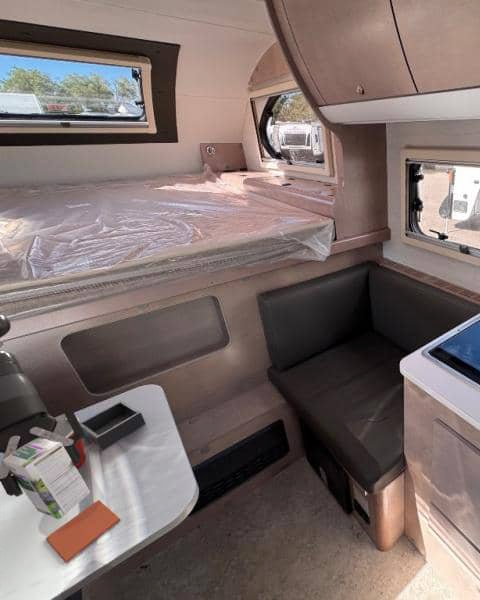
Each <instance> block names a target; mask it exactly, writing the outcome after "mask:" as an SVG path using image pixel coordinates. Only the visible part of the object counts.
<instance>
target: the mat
mask: <svg viewBox="0 0 480 600" xmlns="http://www.w3.org/2000/svg"><path fill="white" fill-rule="evenodd" d="M120 520H121V518H120V517H119V516H118V515H117V514H115V513H114V512H113V511H112V510H111V509H110V508H109V507H108V506H106V505H105V504H104V503H103V502H102V501H101V500H100V499H97V500H96V501H95V502H93V503H91V505H89V506H88V507H87V508H85V509H84V510H82V511H81V512H80V513H78V514H77V515H75V516H74V517H73V518H71V519H70V520H68V521H67V522H66V523H64V524H63V525H62V526H60V527H59V528H57V529H56V530H54V531H53V532H52V533H50V534H49V535H47V537H45V540H46V541H47V542H48V543H49V544H50V545H51V547H52V548H53V549H54V550H55V551H56V552H57V553H58V554H59V555H60V556H61V558H62V559H63V560H64V561H65V562H66V563H68V562H69V561H70V560H72V559H74V557H76V556H77V555H78V554H79V553H81V552H82V551H83V550H85V549H86V548H87V547H88V546H90V544H92V543H93V542H94V541H96V540H97V539H98V538H100V536H102V535H103V534H104V533H105V532H107V531H108V530H109V529H111V528H112V527H113V526H114V525H116V524H117V523H118V522H120Z"/></svg>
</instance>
